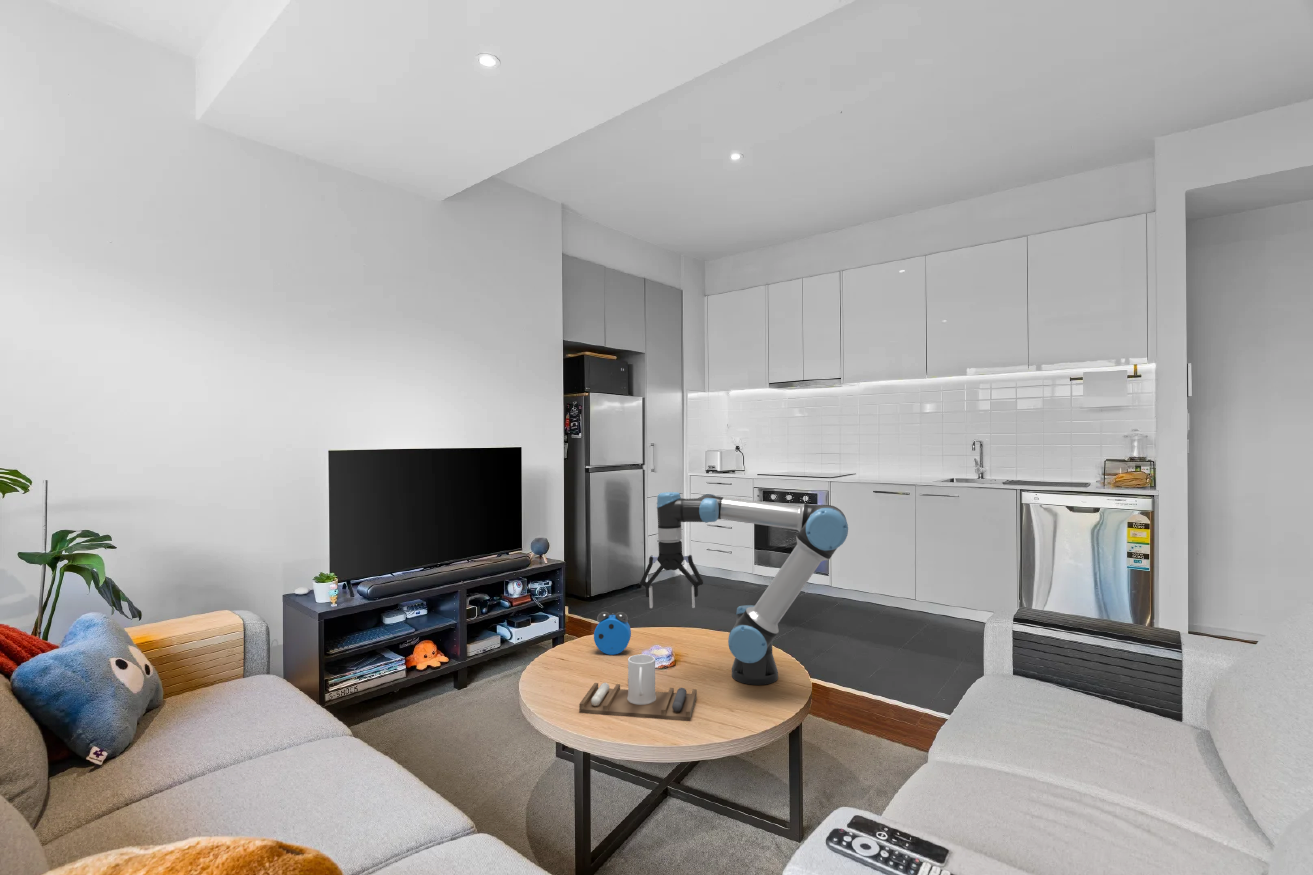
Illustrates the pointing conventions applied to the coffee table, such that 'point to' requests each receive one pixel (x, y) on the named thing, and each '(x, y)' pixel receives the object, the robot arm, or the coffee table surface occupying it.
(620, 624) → the alarm clock
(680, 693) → the dark grey rounded rod
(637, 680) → the mug
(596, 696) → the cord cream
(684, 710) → the tray
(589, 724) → the coffee table surface
